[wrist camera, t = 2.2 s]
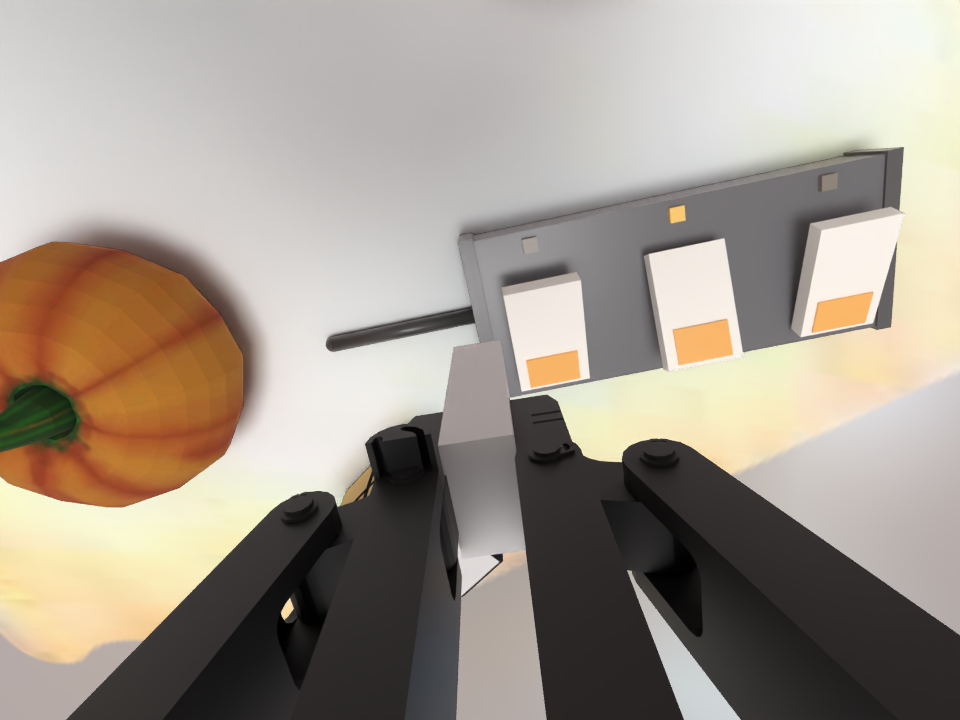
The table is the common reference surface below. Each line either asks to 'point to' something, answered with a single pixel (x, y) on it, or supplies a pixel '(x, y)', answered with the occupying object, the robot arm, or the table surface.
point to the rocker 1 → (548, 331)
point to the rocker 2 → (693, 305)
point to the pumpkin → (110, 376)
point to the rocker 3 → (845, 271)
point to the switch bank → (659, 227)
